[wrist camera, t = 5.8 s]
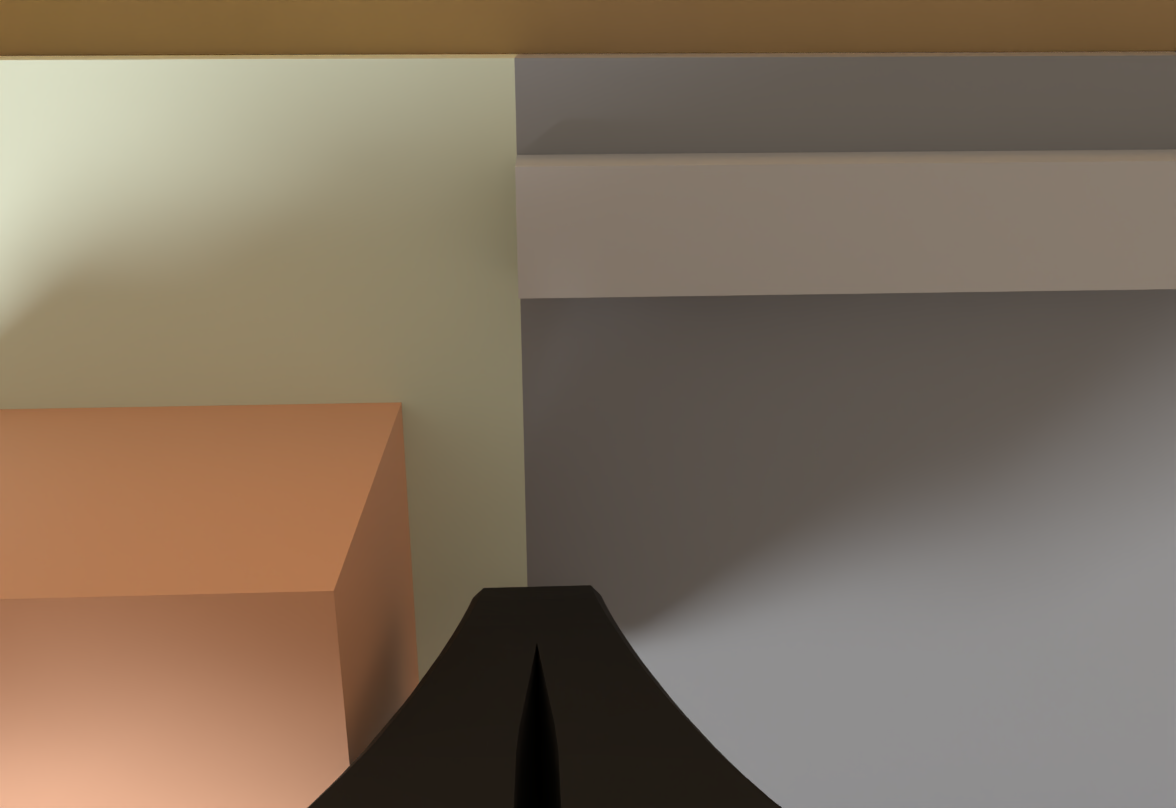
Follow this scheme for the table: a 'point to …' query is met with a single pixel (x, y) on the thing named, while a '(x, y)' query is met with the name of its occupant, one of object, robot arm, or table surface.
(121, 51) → the table surface
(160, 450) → the terracotta block
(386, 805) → the robot arm
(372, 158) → the tunnel deck
